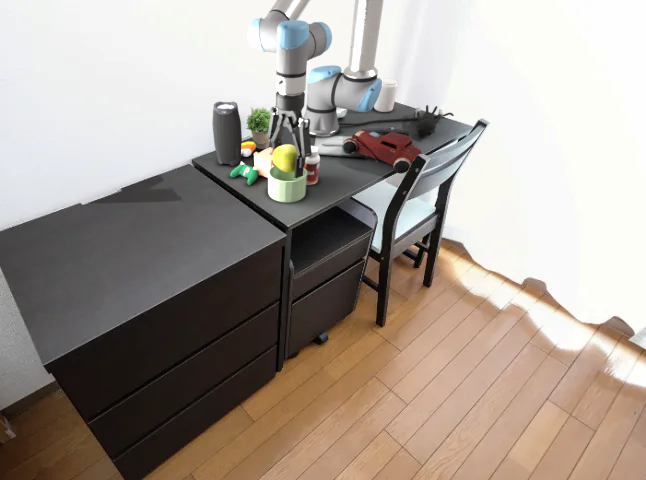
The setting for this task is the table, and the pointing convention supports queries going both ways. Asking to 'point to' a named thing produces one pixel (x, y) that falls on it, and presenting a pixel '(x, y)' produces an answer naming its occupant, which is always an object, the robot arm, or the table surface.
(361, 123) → the robot arm
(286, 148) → the apple
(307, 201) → the table surface
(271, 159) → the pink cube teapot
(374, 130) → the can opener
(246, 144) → the candy corn
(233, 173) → the gaming controller
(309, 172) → the pill bottle
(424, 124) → the toy
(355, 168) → the table surface
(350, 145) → the toy car
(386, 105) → the white cylindrical container
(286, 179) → the light green bowl
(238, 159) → the portable speaker
